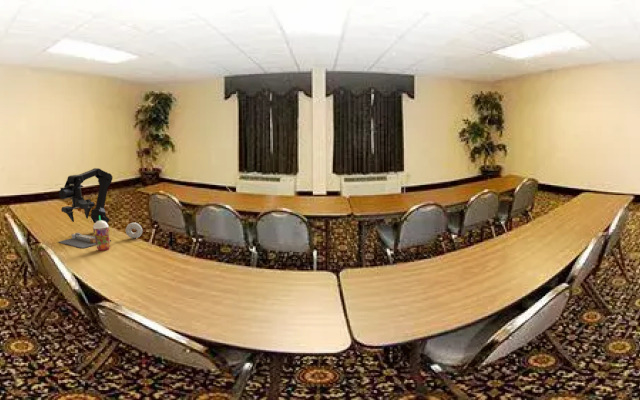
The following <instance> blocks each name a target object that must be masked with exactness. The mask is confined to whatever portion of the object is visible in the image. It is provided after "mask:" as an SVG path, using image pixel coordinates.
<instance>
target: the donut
mask: <svg viewBox="0 0 640 400" xmlns="http://www.w3.org/2000/svg"><path fill="white" fill-rule="evenodd" d="M132 229H135V231H136V232H133V231H132ZM125 233H126V235H127V236H128V237H129V238H131V239H138V238H140V237H141V236H142V234H143V228H142V225H140V223H138V222H130V223H129V224H127V226H126V227H125Z"/></svg>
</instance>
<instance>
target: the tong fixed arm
mask: <svg viewBox="0 0 640 400" xmlns="http://www.w3.org/2000/svg"><path fill="white" fill-rule="evenodd" d="M76 235H80V236H85V237H89V238H94V239H95V237H90V236H91V235H90V236H86V235H87V234H81V233H80V232H75V233H72V234H71V238H72V239H77V238H76ZM95 242H96V240H95Z"/></svg>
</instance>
